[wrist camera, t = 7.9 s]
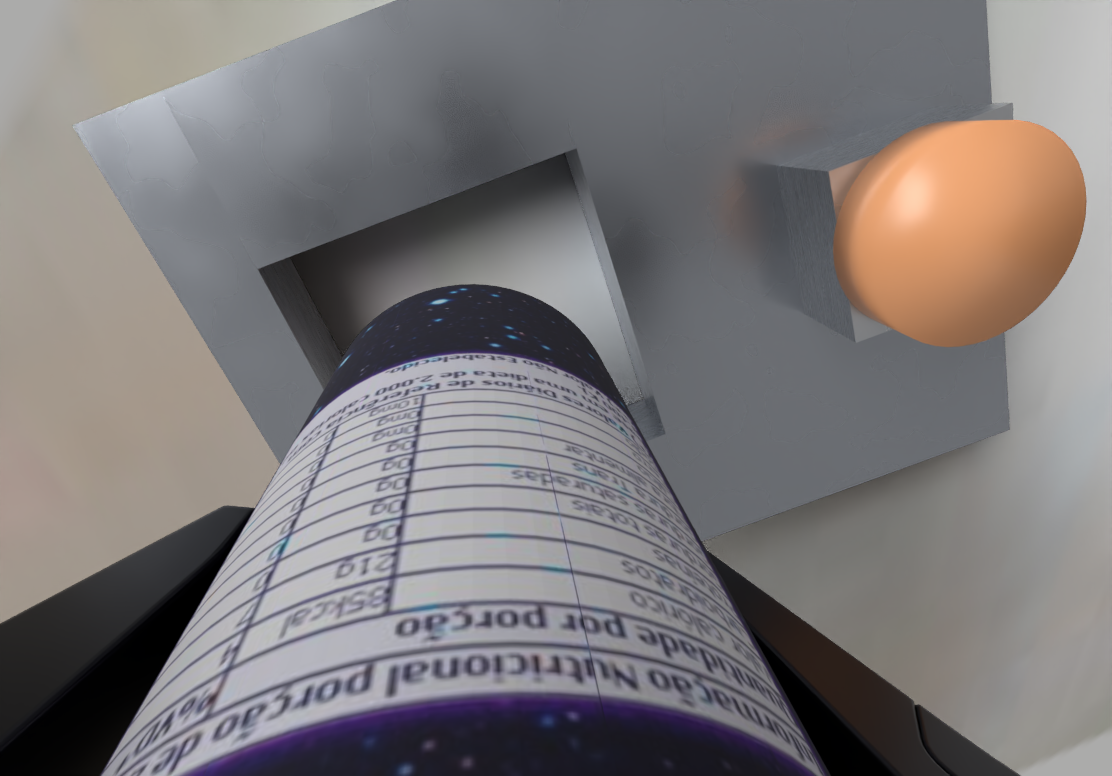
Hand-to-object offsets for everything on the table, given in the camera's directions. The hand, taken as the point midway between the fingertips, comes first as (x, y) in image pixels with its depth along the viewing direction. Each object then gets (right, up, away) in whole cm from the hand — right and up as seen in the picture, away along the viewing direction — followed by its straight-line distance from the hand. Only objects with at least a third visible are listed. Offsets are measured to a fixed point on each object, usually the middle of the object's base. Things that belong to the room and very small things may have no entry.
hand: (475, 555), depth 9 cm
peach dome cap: (+9, +6, +6) cm, 13 cm away
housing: (+3, +5, +10) cm, 11 cm away
